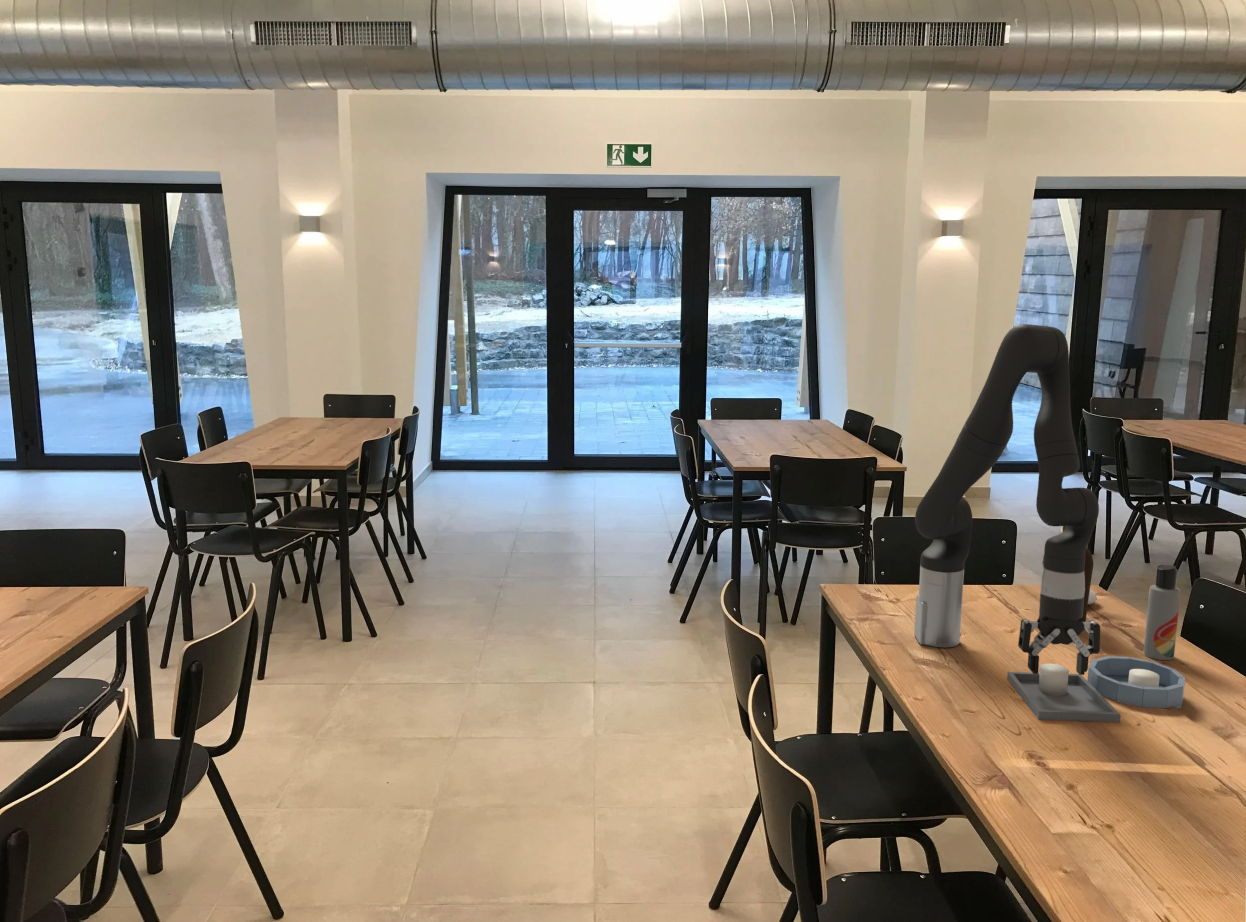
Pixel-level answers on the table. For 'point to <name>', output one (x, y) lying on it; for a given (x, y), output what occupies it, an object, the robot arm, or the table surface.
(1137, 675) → the white marshmallow
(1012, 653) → the table surface
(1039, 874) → the table surface
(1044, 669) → the marshmallow
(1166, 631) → the lotion bottle
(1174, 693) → the bowl
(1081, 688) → the parts tray
